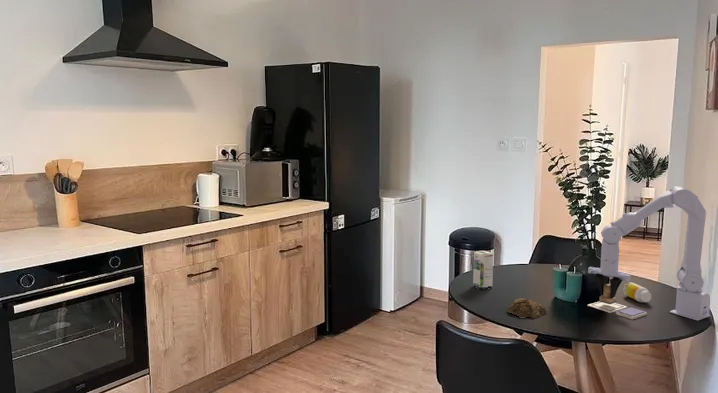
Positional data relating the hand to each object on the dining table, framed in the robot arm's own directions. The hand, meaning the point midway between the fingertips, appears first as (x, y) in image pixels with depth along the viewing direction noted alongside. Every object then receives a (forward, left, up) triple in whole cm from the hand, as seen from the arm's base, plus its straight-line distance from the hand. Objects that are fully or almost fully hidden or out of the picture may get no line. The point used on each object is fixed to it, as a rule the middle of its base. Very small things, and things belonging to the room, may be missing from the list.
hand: (607, 296), depth 195 cm
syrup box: (+41, +21, -4) cm, 47 cm away
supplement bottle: (+3, -18, -1) cm, 18 cm away
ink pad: (-10, 0, -4) cm, 10 cm away
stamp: (0, 0, -2) cm, 2 cm away
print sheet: (0, 0, -4) cm, 4 cm away
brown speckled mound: (+12, +29, -4) cm, 32 cm away
